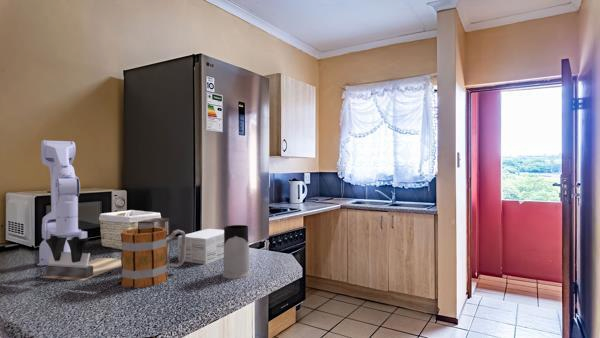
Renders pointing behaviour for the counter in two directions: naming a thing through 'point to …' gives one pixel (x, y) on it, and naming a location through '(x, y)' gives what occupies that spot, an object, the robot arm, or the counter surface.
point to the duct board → (83, 269)
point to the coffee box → (158, 223)
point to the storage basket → (121, 225)
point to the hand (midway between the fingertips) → (67, 261)
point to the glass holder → (236, 252)
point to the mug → (147, 256)
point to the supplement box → (203, 246)
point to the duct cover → (70, 260)
